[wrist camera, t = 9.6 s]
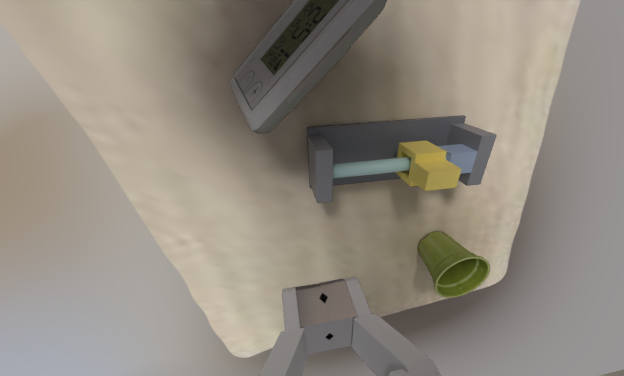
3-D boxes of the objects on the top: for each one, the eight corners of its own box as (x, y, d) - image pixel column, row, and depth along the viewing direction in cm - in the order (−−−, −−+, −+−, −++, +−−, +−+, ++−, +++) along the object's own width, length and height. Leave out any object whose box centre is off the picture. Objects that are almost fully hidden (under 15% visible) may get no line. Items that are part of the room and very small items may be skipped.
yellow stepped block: (394, 172, 36) (423, 198, 29) (399, 142, 34) (430, 164, 27) (420, 169, 36) (454, 194, 30) (426, 140, 34) (463, 160, 28)
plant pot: (450, 256, 51) (482, 292, 43) (406, 265, 50) (431, 302, 42) (459, 220, 46) (497, 252, 39) (412, 228, 45) (441, 263, 38)
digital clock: (331, -37, 26) (367, -87, 16) (368, 47, 30) (413, 44, 21) (210, 59, 28) (183, 62, 19) (261, 124, 32) (259, 153, 23)
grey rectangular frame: (309, 186, 38) (317, 209, 32) (307, 127, 33) (315, 142, 28) (448, 171, 41) (478, 190, 35) (463, 115, 36) (499, 126, 31)
